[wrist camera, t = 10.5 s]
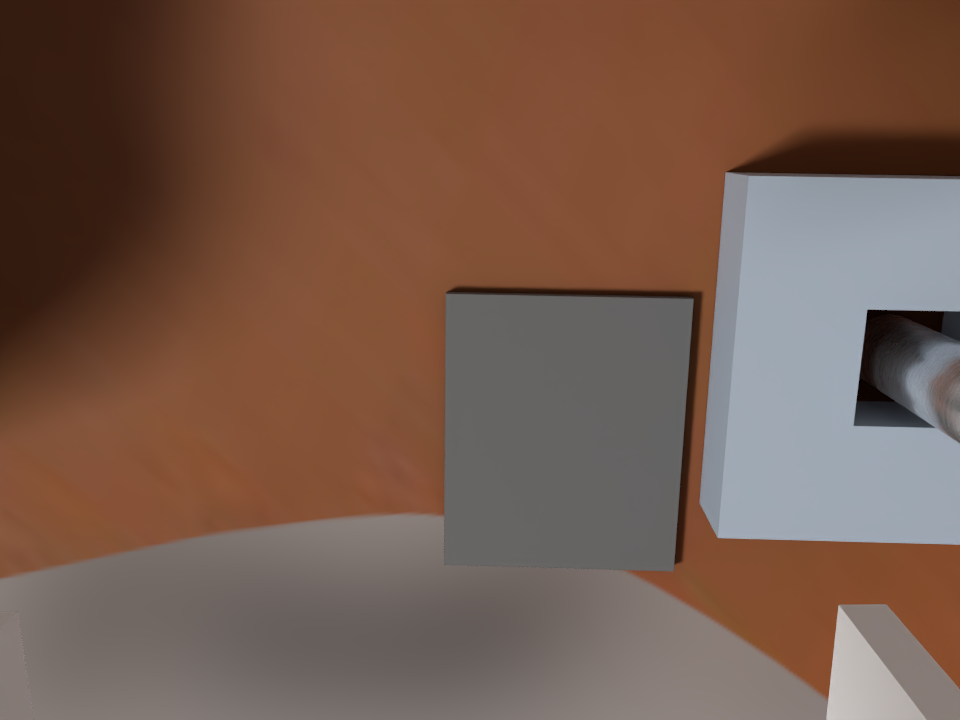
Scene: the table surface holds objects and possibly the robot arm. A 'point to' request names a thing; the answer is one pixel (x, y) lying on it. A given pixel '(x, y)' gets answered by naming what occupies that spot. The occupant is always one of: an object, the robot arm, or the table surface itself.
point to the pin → (914, 369)
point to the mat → (564, 429)
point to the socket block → (826, 359)
